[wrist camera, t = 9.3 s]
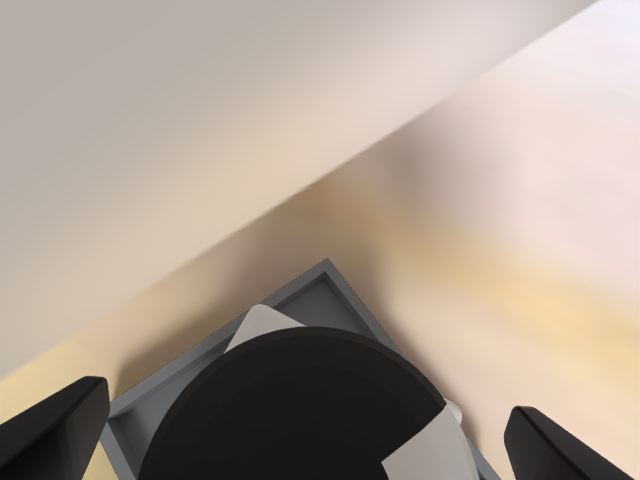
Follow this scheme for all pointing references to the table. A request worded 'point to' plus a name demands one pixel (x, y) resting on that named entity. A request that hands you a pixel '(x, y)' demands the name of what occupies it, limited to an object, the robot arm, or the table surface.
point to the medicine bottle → (308, 412)
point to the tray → (168, 382)
